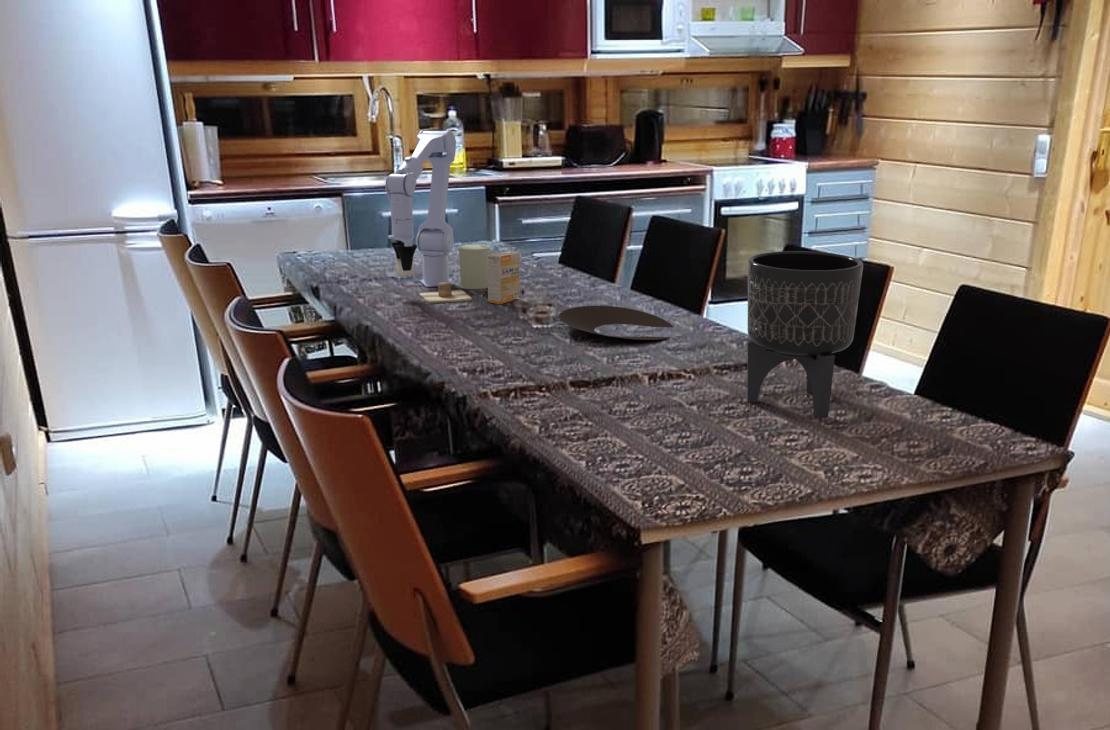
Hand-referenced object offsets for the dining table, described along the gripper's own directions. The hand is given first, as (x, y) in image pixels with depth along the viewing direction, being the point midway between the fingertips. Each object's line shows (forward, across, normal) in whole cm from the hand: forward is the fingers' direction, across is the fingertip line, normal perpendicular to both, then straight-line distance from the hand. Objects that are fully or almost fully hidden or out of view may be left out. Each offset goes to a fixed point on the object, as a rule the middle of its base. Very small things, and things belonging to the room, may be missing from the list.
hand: (405, 268), depth 258 cm
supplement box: (+8, +14, +24) cm, 29 cm away
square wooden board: (+8, +4, +10) cm, 13 cm away
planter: (+8, +115, +49) cm, 125 cm away
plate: (+8, +54, +40) cm, 68 cm away
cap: (+2, 0, 0) cm, 2 cm away
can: (+8, -8, +22) cm, 25 cm away
